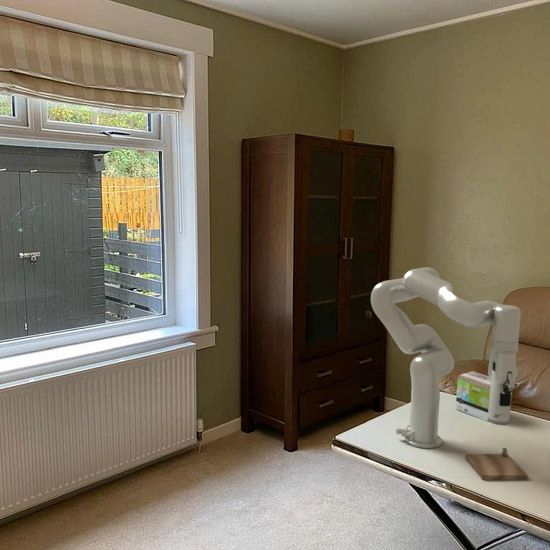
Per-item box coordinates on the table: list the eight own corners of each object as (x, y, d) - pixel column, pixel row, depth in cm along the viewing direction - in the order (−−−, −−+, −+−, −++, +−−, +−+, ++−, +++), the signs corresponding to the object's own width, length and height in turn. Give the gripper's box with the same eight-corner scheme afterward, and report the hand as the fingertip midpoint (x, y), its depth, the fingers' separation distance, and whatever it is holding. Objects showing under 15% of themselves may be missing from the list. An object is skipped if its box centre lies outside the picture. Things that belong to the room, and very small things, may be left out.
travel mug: (498, 427, 170) (504, 364, 167) (483, 418, 176) (488, 357, 173) (514, 424, 173) (520, 362, 169) (498, 416, 179) (504, 355, 176)
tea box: (454, 409, 225) (456, 374, 223) (469, 404, 231) (471, 370, 229) (488, 422, 213) (491, 385, 211) (502, 416, 219) (505, 380, 217)
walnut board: (482, 479, 170) (483, 467, 169) (464, 458, 183) (465, 446, 183) (527, 479, 170) (528, 467, 170) (506, 458, 184) (507, 446, 183)
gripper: (481, 338, 180) (477, 391, 182) (503, 353, 162) (499, 412, 165) (505, 338, 180) (500, 391, 182) (529, 353, 162) (524, 412, 165)
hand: (500, 401), depth 174 cm, fingers closed on travel mug, 6 cm apart
